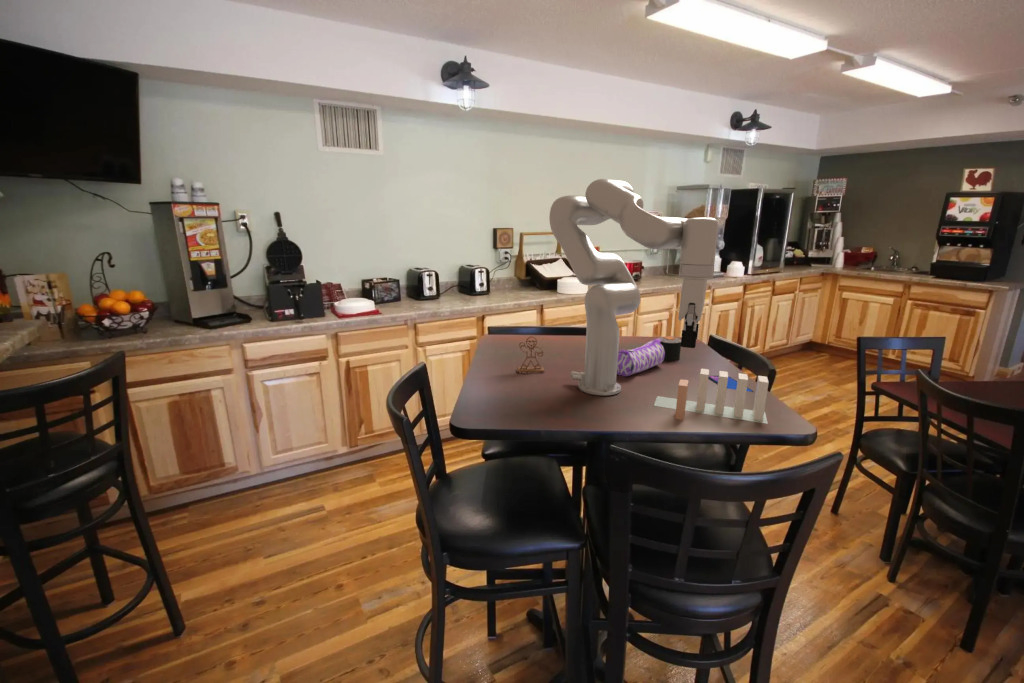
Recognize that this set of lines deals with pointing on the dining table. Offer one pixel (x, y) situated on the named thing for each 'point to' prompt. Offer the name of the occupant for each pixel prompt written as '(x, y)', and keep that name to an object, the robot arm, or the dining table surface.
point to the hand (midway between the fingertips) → (689, 342)
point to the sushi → (671, 348)
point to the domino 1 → (681, 399)
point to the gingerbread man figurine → (535, 368)
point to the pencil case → (640, 358)
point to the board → (707, 409)
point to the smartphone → (730, 384)
